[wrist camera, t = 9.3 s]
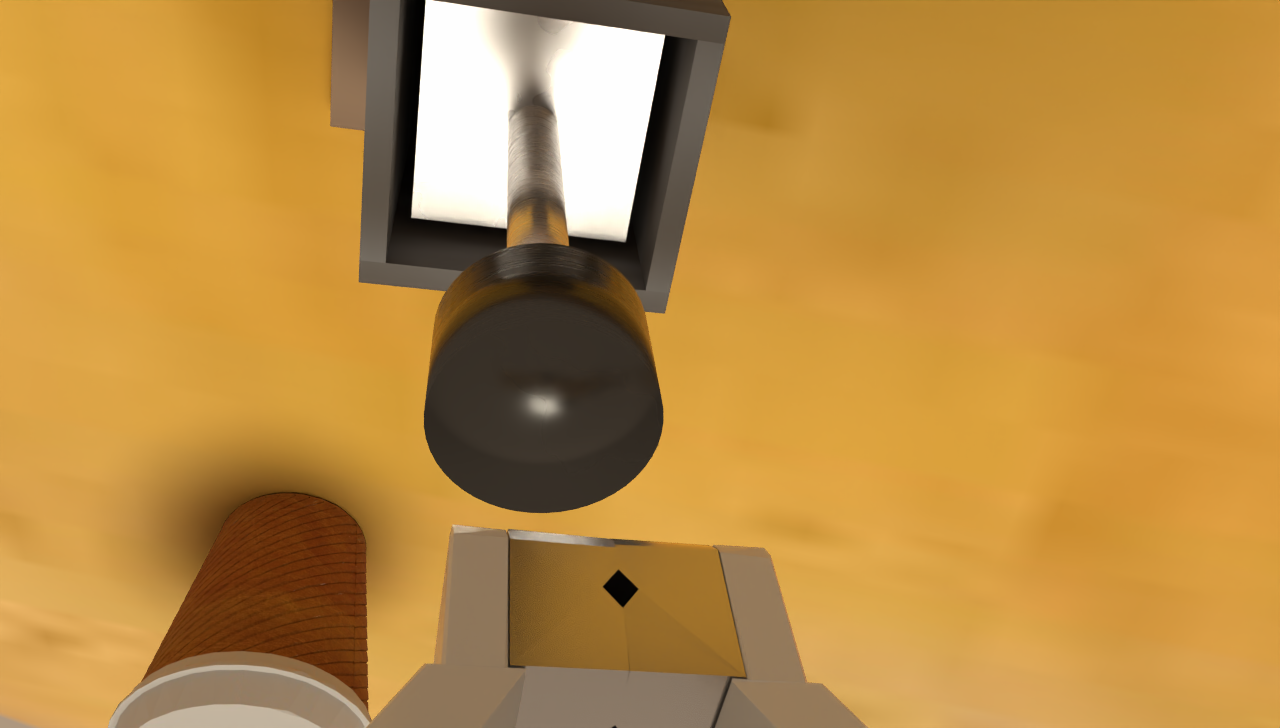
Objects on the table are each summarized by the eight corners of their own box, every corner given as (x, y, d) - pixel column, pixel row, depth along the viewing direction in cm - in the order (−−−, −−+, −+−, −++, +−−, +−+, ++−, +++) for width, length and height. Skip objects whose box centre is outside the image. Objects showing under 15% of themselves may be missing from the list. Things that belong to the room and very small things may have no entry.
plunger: (428, -12, 24) (368, 246, 14) (661, 23, 25) (758, 289, 15) (413, 203, 27) (355, 543, 17) (622, 227, 28) (683, 563, 18)
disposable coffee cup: (445, 529, 48) (427, 760, 39) (326, 645, 52) (282, 884, 42) (256, 426, 44) (182, 656, 34) (140, 560, 48) (44, 804, 38)
